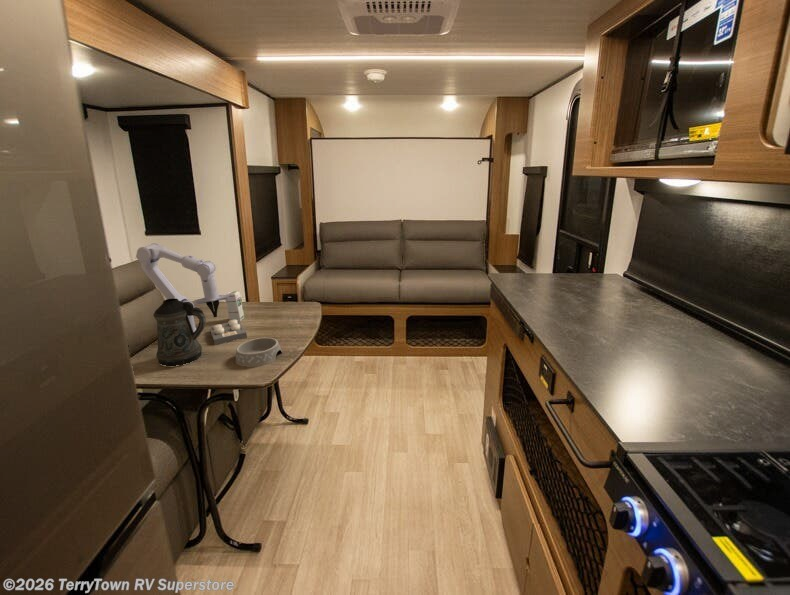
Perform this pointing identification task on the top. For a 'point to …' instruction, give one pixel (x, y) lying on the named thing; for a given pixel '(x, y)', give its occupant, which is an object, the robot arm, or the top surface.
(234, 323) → the button back right
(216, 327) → the button back left
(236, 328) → the button front right
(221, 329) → the button front left
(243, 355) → the dog bowl
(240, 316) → the syrup box
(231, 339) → the button board
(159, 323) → the beer stein
